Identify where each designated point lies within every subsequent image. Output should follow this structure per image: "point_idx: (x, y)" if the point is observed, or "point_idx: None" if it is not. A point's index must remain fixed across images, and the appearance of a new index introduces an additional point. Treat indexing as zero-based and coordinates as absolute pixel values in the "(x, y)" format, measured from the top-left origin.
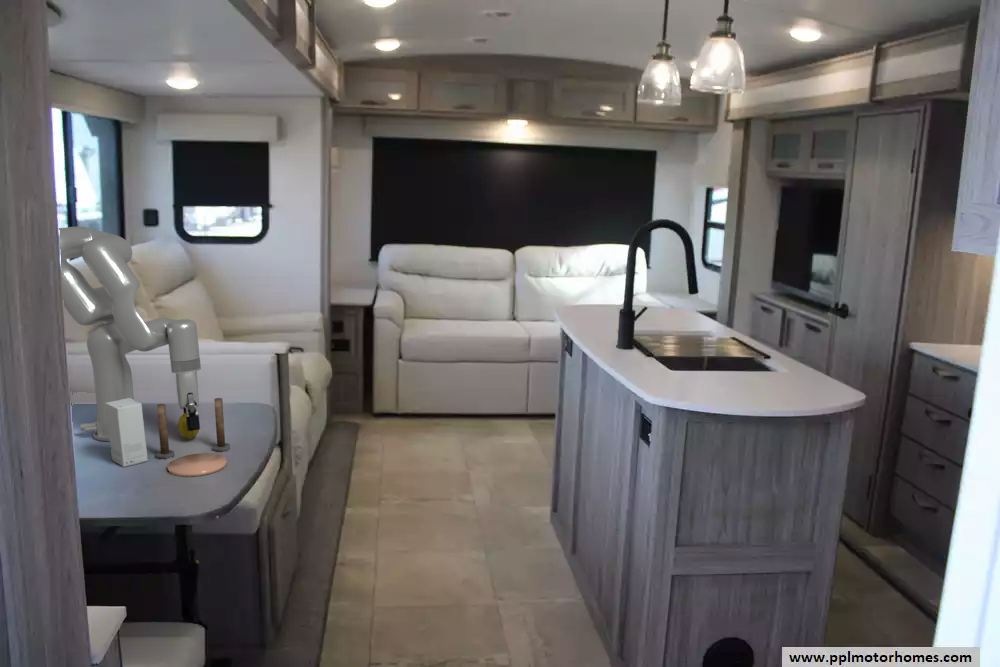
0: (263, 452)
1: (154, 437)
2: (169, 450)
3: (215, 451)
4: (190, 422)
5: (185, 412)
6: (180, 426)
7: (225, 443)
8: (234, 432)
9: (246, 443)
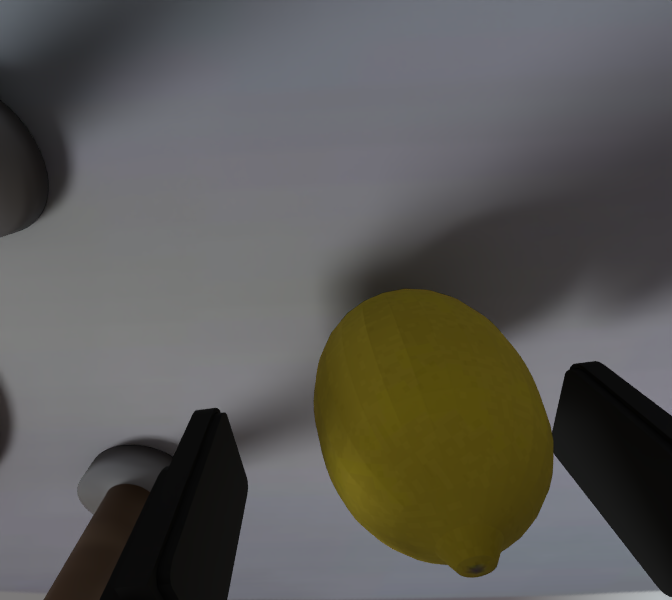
0: None
1: (590, 3)
2: (9, 201)
3: (95, 458)
4: (138, 530)
5: (656, 457)
6: (354, 344)
7: None
8: None
9: None
